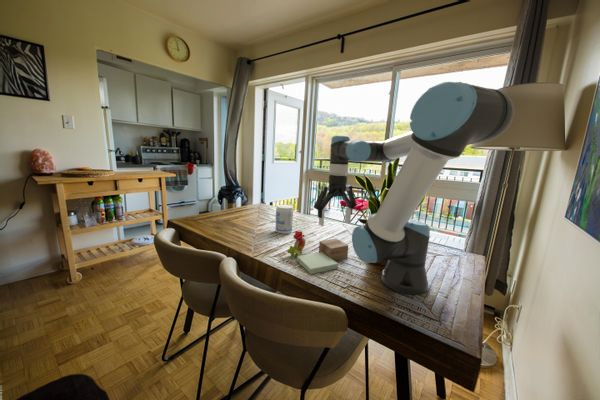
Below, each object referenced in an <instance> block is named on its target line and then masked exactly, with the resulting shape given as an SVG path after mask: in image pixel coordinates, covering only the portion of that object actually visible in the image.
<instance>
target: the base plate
mask: <svg viewBox="0 0 600 400" xmlns="http://www.w3.org/2000/svg"><path fill="white" fill-rule="evenodd" d="M296 262H298V263H299V265H301V266H302V267H303V268H304V269H305V270H306V271H307V272H308V274H310V275H313V274H316V273H322V272H326V271H327V272H328V271H331V270H336V269H338V266H339V263H338V262H337V261H334V260H332V259H331V258H330V257H328V256H327V255H325V254H324V253H323V252H320V253H319V252H315V253H310V254H309V253H308V254H303V255H302V254H301V256H298V255H297V256H296Z"/></svg>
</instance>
